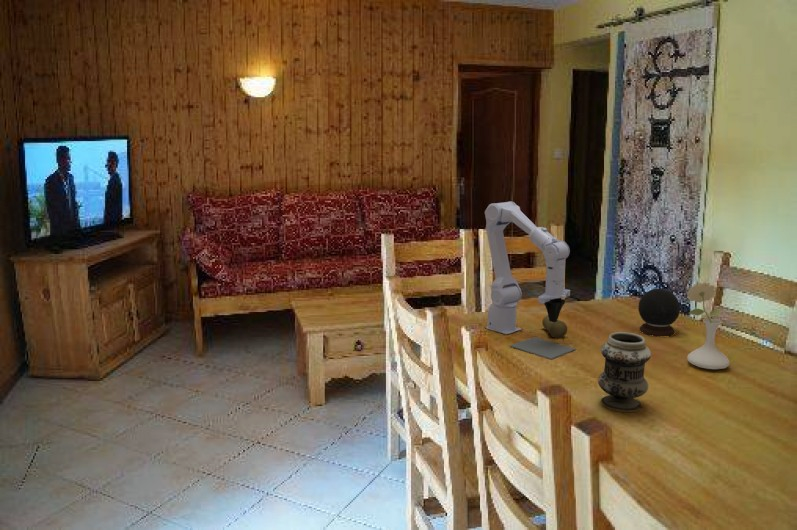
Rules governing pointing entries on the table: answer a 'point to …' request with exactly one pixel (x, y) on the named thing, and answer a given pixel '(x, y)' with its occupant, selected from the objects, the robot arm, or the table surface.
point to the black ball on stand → (658, 312)
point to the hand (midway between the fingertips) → (553, 321)
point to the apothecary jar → (624, 371)
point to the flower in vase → (707, 331)
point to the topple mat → (542, 348)
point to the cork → (555, 327)
